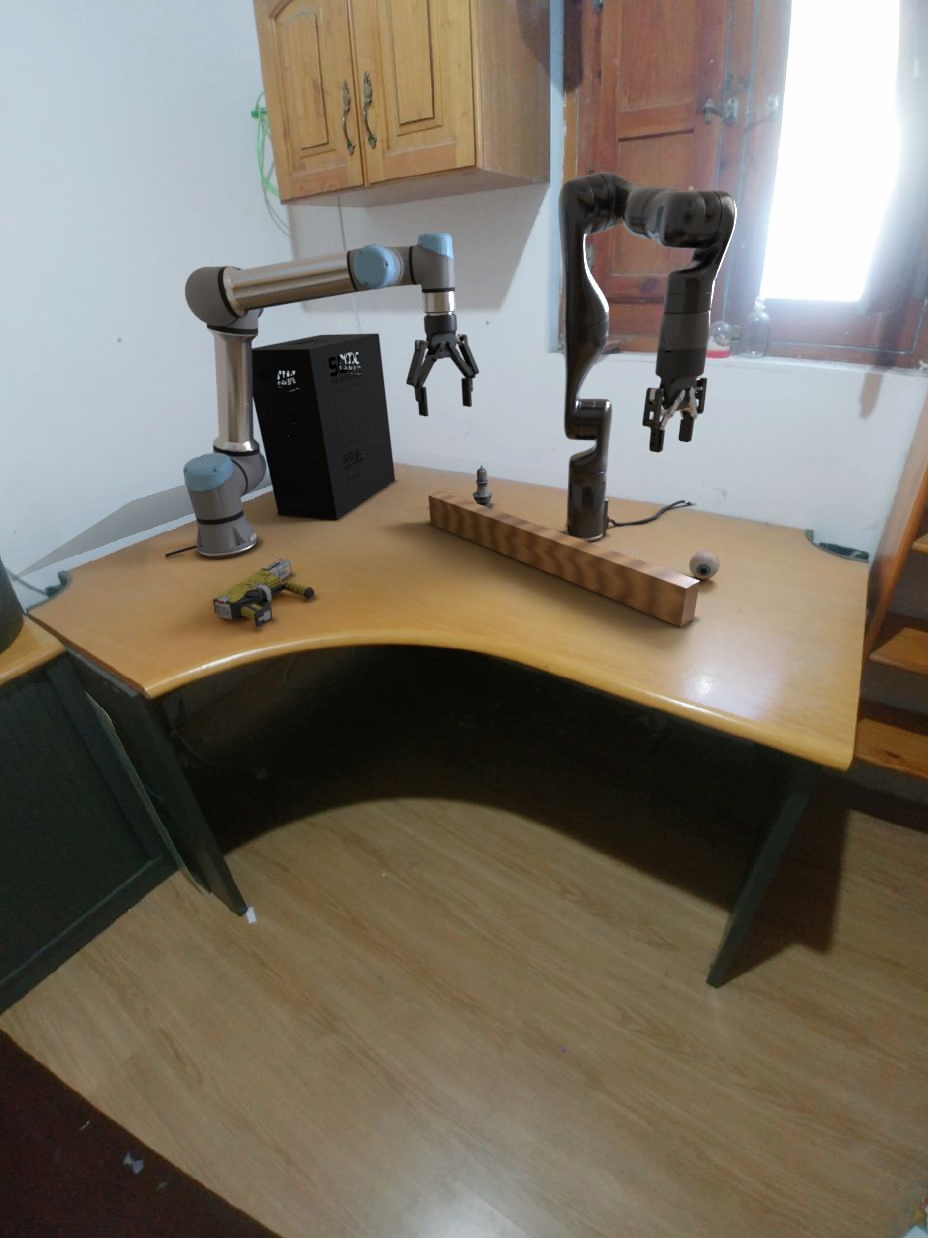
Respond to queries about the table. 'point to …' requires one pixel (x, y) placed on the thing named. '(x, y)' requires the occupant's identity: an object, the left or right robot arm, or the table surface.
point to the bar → (571, 558)
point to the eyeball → (704, 564)
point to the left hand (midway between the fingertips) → (446, 410)
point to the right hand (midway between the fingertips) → (670, 446)
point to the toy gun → (258, 594)
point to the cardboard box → (323, 423)
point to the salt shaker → (482, 489)
